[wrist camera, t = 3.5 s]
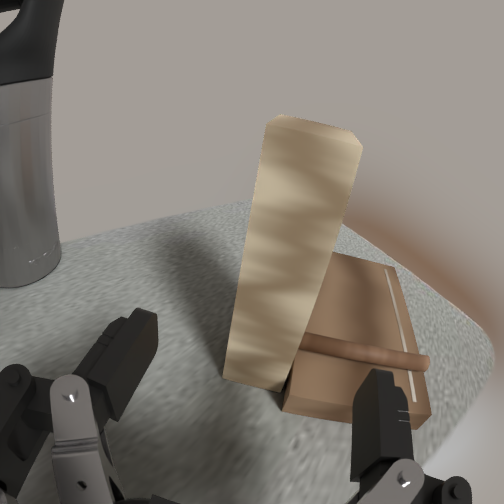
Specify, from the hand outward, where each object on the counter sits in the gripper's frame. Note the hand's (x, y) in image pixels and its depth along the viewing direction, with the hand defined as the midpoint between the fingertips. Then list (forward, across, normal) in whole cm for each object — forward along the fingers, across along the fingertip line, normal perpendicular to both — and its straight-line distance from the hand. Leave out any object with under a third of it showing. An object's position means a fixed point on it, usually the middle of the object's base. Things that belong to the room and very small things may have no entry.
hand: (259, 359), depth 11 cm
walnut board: (+13, -7, +9) cm, 18 cm away
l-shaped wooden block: (+8, -5, +9) cm, 13 cm away
